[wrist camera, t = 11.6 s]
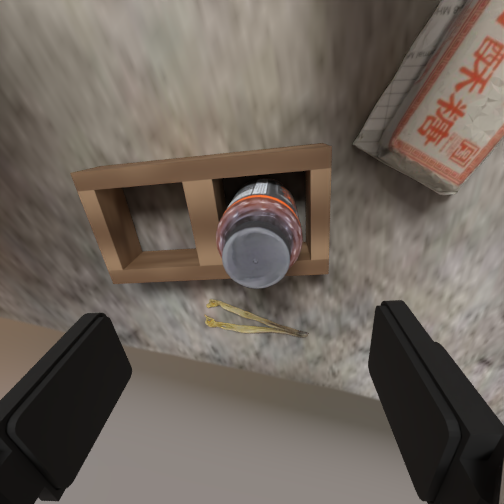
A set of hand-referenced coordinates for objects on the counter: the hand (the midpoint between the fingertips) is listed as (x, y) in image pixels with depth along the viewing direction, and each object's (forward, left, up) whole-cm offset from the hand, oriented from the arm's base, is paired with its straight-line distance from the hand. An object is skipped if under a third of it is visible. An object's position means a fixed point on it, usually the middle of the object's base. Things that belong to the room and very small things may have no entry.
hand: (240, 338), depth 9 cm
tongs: (+14, -2, -18) cm, 23 cm away
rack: (0, -5, -18) cm, 18 cm away
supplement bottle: (0, 0, -18) cm, 18 cm away
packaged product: (-10, +17, -18) cm, 27 cm away
